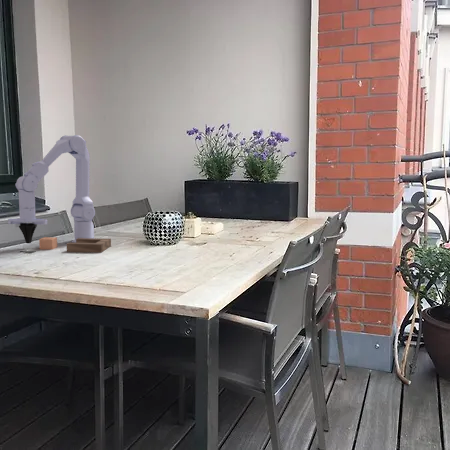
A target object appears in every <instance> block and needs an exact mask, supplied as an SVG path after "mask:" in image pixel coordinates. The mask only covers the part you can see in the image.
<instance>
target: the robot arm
mask: <svg viewBox="0 0 450 450" xmlns="http://www.w3.org/2000/svg"><path fill="white" fill-rule="evenodd" d="M66 153H68V154H70V155H71V156H72V157H73V158H74V159H75V197H74V199H73V201H72V206H71V208H70V215H71V217H72V218H73V226H74V227H73V229H74V230H73V231H74V233H73V234H74V239H73V240H71V242H70V243H76V239H78V238H95V226H94V225H95V224H94V223H93V219H94V217H95V215H96V209H95V208H94V207H95V206H94V202H93V200H92V199H91V198H90V180H91V179H90V176H91V175H90V173H91V172H90V166H91V163H90V161H91V159H90V158H91V156H90V152H89V149H88V147H87V141H86V140H85V139H84V138H83V137H82V136H81V135H79V134H75V135H65V134H64V135H63V136H60V138H59V139H58V140H56V142H55V144H54V145H53V147H52V148H51V149H50V150H49V152H48V153H47V154H46V155H45V156H44V158H43V159H42V160H40V161H35V162H32V163H31V167H30V168H29V169H28V170H27V171H25V172H24V173H23V175H22V176H19V177H18V178H17V179H16V183H15V188H16V189H17V191H18V205H19V207H18V209H19V211H18V212H19V218H8V219H7V224H8V225H19V226H18V228H19V230H20V232H21V233H22V236H23V237H24V241H25V244H32V241H33V240H32V239H33V236H34V233H35V230H36V229H37V227H38V225H44V226H45V225H48V219H47V218H37V217H36V194H35V193H36V190H37V189H38V185H39V182H40V181H41V180H43V178H44V177H45V176H46V175H47V174H48V173H49V170H50V169H49V167H50V166H51V165H52V164H53V163H54V162H55V161H56V160H57V159H58V158H59V157H61V155H63V154H66Z"/></svg>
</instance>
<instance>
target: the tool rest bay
mask: <svg viewBox="0 0 450 450" xmlns="http://www.w3.org/2000/svg"><path fill="white" fill-rule="evenodd" d="M110 247H112V239H111V238H96V237H94V238H78V239H76V242H67V243H66V253H99V254H100V253H103V252H104V251H106V250H107V249H109V248H110Z"/></svg>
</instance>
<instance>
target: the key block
mask: <svg viewBox="0 0 450 450" xmlns="http://www.w3.org/2000/svg"><path fill="white" fill-rule="evenodd" d="M38 242H39V250H55V249H57V248H58V237H54V236H53V237H51V236H49V237H48V236H46V237H45V236H44V237H41V238H39V241H38Z"/></svg>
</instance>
